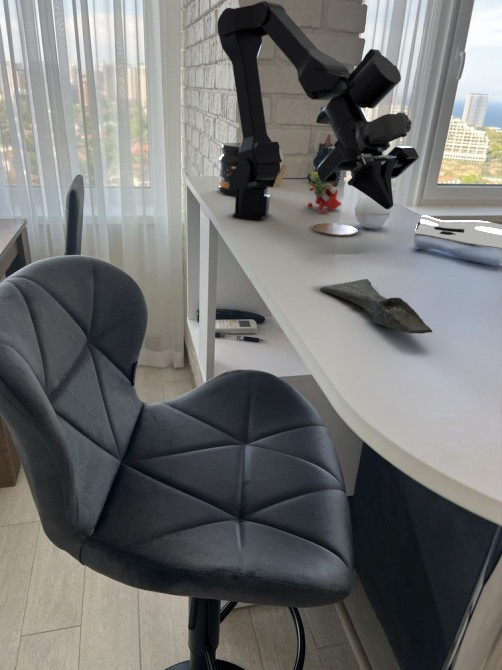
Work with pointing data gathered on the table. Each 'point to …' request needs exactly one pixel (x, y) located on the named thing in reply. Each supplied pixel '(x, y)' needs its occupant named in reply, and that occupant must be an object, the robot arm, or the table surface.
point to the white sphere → (370, 212)
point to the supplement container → (228, 166)
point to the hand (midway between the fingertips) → (389, 207)
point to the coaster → (335, 229)
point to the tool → (380, 306)
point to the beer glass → (461, 239)
